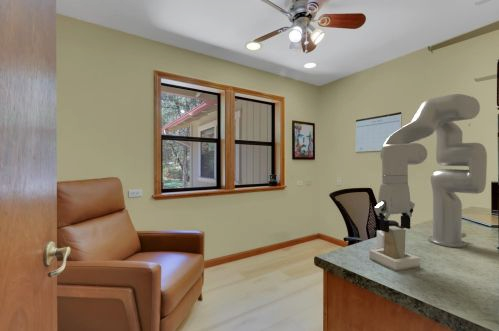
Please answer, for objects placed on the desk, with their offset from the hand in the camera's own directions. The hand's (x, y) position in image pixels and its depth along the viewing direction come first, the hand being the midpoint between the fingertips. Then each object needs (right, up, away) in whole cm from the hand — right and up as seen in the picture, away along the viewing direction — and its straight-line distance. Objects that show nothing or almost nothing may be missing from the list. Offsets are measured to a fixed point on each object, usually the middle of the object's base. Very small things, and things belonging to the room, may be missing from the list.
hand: (395, 229), depth 83 cm
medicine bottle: (+4, -11, +10) cm, 16 cm away
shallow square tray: (-1, -11, 0) cm, 11 cm away
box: (0, -11, 0) cm, 11 cm away
